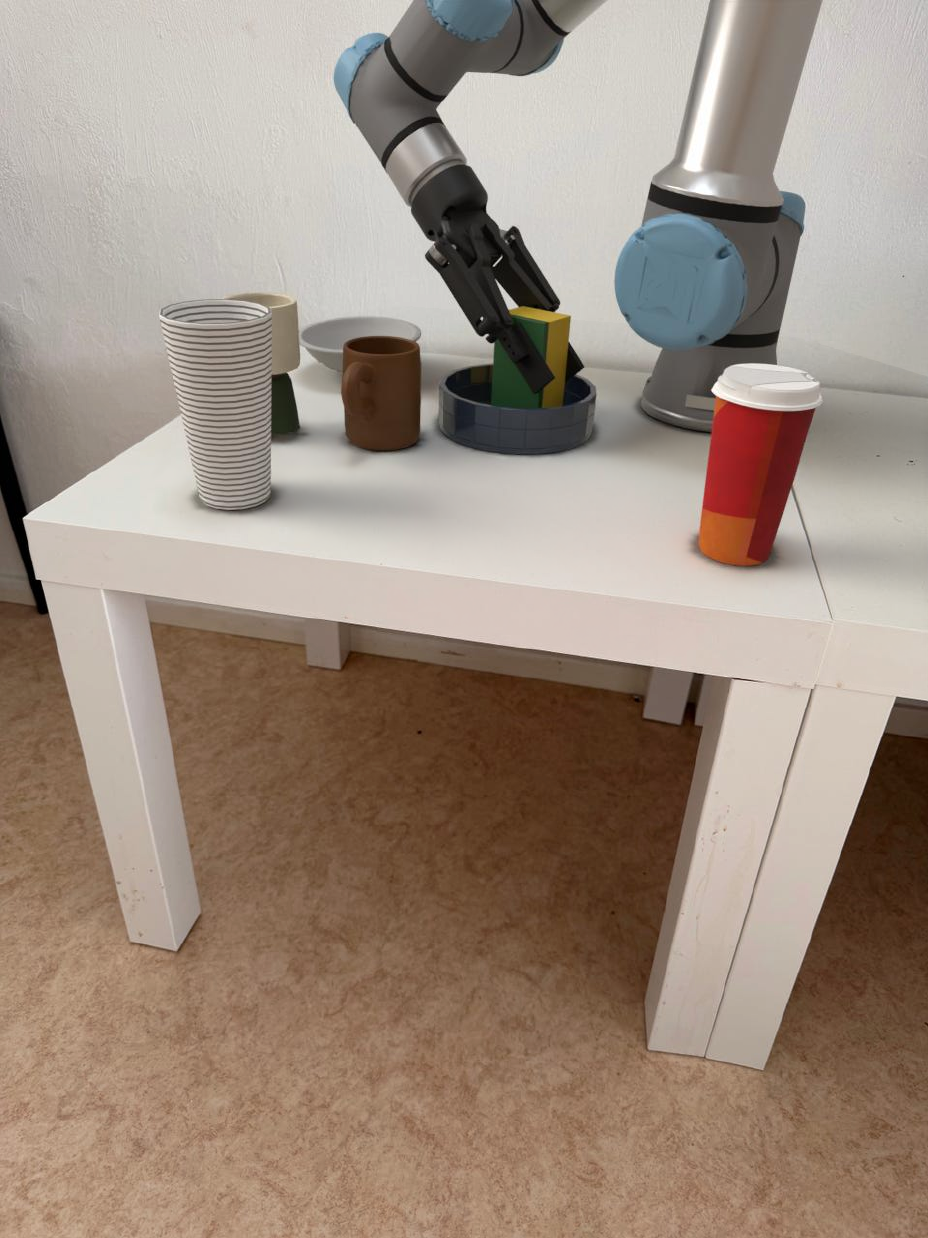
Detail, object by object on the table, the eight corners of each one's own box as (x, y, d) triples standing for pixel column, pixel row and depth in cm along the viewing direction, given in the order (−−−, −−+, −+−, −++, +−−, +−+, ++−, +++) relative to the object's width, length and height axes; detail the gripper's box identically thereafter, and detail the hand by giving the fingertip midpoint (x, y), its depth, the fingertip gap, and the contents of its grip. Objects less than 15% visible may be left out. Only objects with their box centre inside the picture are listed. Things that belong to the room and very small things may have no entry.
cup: (271, 472, 81) (257, 295, 73) (297, 508, 75) (285, 319, 67) (176, 485, 78) (150, 301, 70) (195, 523, 72) (168, 327, 64)
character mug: (259, 412, 95) (248, 285, 89) (321, 419, 94) (315, 291, 87) (211, 446, 86) (195, 308, 80) (280, 455, 85) (269, 315, 78)
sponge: (516, 399, 98) (522, 305, 93) (562, 411, 95) (571, 315, 90) (490, 409, 95) (495, 312, 90) (537, 422, 92) (544, 323, 86)
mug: (386, 473, 82) (385, 371, 77) (312, 461, 84) (306, 361, 79) (431, 432, 92) (432, 339, 87) (363, 422, 94) (361, 331, 89)
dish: (389, 402, 100) (388, 357, 97) (273, 387, 103) (270, 343, 101) (439, 362, 114) (439, 322, 112) (336, 350, 118) (334, 311, 115)
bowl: (535, 395, 104) (538, 356, 102) (622, 439, 92) (628, 397, 90) (412, 414, 97) (412, 373, 94) (490, 464, 85) (492, 419, 83)
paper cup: (764, 529, 75) (803, 362, 67) (797, 573, 68) (844, 393, 61) (673, 528, 74) (702, 359, 67) (696, 571, 68) (731, 390, 60)
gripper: (471, 206, 100) (581, 382, 100) (359, 219, 87) (485, 420, 87) (512, 156, 94) (629, 343, 94) (399, 163, 82) (533, 377, 82)
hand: (559, 379), depth 91 cm, fingers closed on sponge, 5 cm apart
